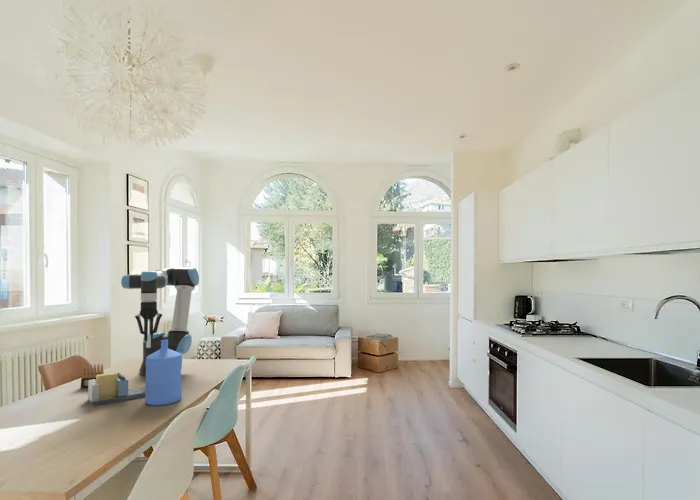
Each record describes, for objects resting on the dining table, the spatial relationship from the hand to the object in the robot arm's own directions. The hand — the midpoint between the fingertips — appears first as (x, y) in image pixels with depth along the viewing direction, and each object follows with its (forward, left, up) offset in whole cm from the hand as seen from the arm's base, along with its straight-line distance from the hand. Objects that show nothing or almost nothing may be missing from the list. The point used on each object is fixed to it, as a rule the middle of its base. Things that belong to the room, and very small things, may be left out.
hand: (148, 347), depth 213 cm
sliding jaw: (+14, +7, -19) cm, 24 cm away
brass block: (+20, +7, -19) cm, 28 cm away
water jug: (-1, +25, -22) cm, 33 cm away
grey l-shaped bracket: (+14, +7, -21) cm, 26 cm away
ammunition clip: (+21, -23, -22) cm, 38 cm away
